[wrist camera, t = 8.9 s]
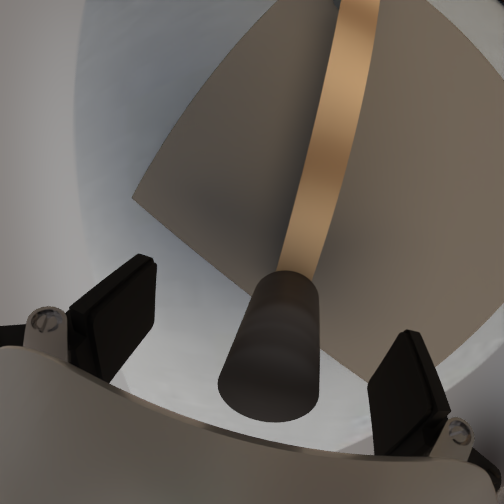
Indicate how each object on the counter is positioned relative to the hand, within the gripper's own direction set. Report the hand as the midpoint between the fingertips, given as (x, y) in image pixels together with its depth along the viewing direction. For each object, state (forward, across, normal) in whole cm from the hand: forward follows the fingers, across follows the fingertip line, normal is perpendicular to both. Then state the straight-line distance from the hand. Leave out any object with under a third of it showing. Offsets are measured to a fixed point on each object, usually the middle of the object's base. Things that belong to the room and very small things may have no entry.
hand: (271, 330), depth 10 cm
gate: (+10, 0, -6) cm, 12 cm away
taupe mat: (+11, -7, -6) cm, 14 cm away
